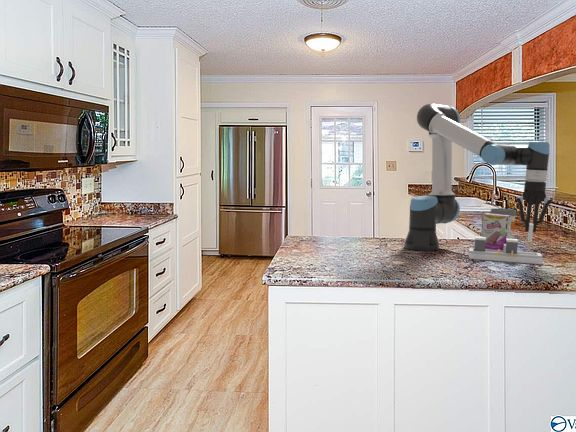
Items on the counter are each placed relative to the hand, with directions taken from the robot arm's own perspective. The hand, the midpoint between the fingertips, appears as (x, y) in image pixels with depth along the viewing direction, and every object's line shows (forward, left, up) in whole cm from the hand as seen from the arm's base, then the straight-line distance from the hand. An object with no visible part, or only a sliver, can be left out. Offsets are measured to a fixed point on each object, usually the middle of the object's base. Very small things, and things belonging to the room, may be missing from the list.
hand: (529, 239), depth 201 cm
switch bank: (-9, 0, -9) cm, 12 cm away
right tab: (-6, 0, -6) cm, 9 cm away
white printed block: (-6, +63, -9) cm, 64 cm away
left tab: (-18, 0, -6) cm, 19 cm away
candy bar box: (-11, +19, -9) cm, 24 cm away
